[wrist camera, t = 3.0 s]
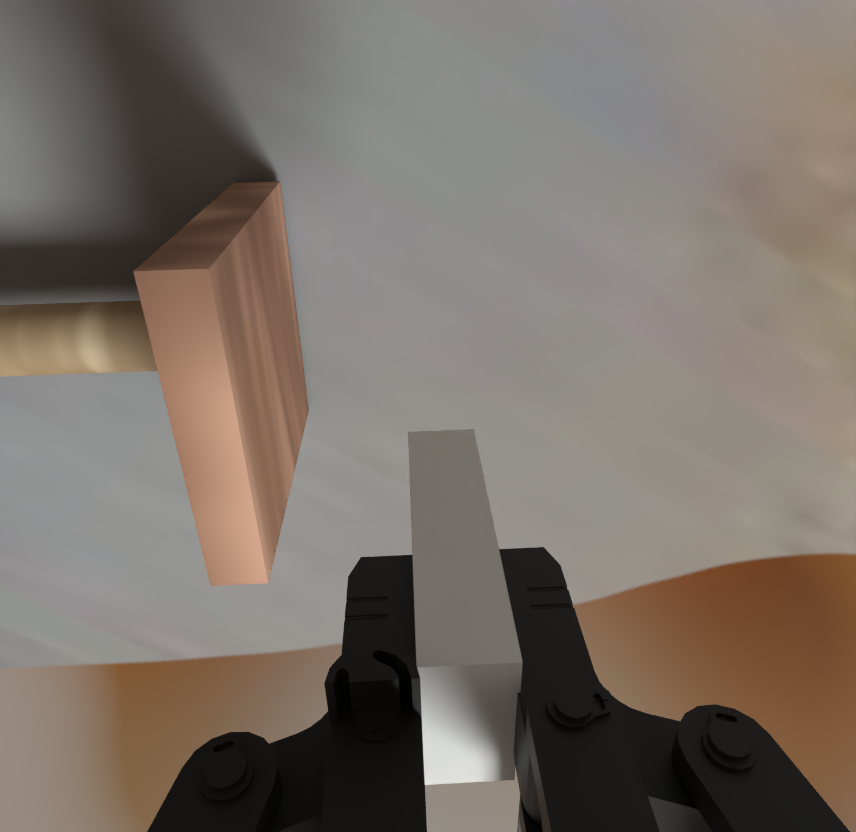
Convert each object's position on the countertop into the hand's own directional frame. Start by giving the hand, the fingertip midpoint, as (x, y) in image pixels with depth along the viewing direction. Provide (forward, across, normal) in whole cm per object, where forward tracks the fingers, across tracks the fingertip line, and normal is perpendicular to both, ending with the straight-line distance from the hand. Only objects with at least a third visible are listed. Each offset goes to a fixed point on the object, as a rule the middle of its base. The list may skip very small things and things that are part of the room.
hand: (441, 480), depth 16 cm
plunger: (+12, -15, 0) cm, 19 cm away
